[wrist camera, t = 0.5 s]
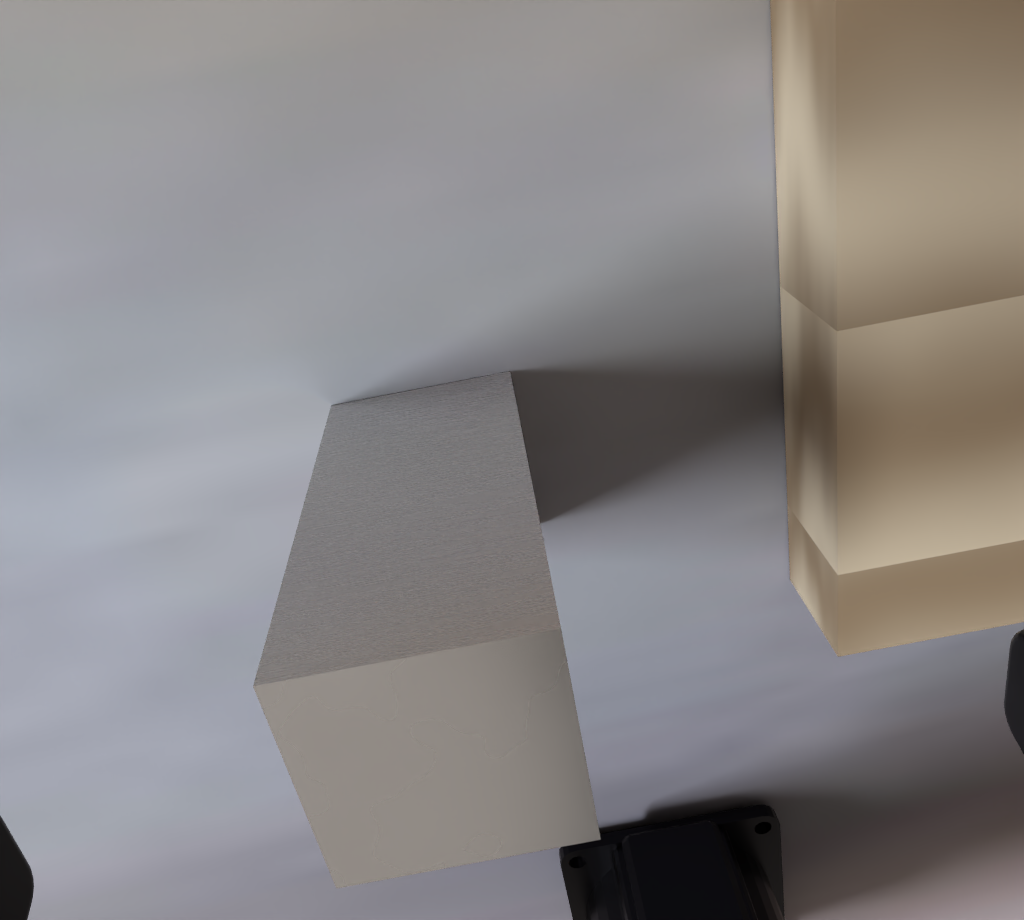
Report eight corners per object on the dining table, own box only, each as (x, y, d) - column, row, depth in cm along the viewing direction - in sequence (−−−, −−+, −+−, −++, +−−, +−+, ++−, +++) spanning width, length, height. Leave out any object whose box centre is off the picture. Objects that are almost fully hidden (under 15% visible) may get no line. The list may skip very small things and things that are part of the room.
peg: (539, 524, 21) (601, 839, 13) (376, 555, 21) (335, 888, 13) (510, 371, 19) (560, 628, 11) (331, 405, 19) (252, 686, 11)
